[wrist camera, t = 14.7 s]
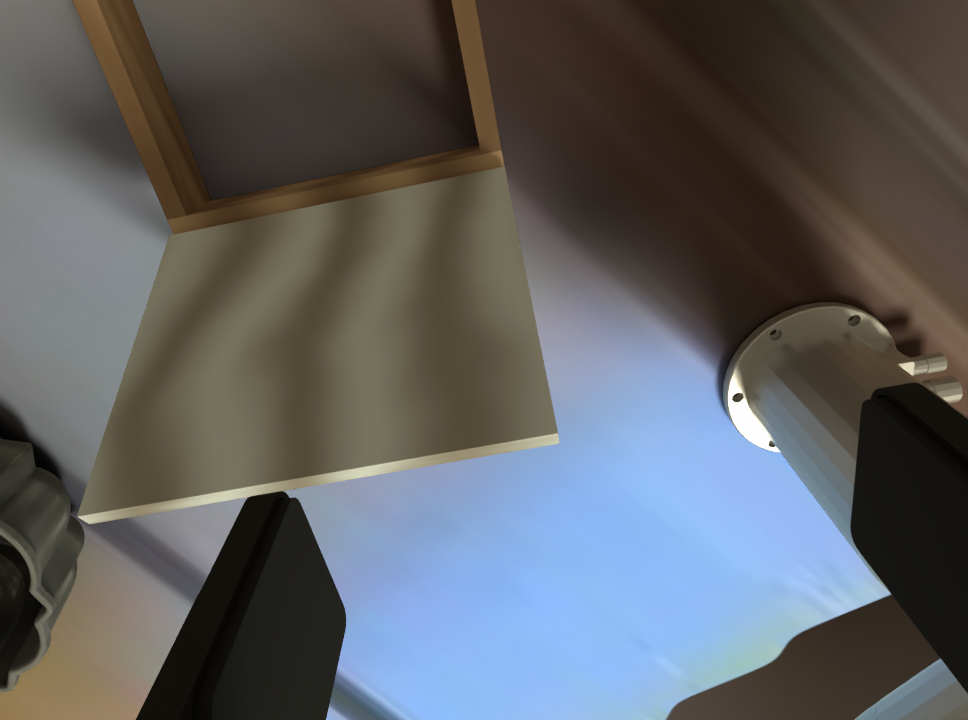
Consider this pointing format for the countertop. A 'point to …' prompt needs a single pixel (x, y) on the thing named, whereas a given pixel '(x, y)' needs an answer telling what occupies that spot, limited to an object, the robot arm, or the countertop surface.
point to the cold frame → (316, 313)
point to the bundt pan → (32, 558)
